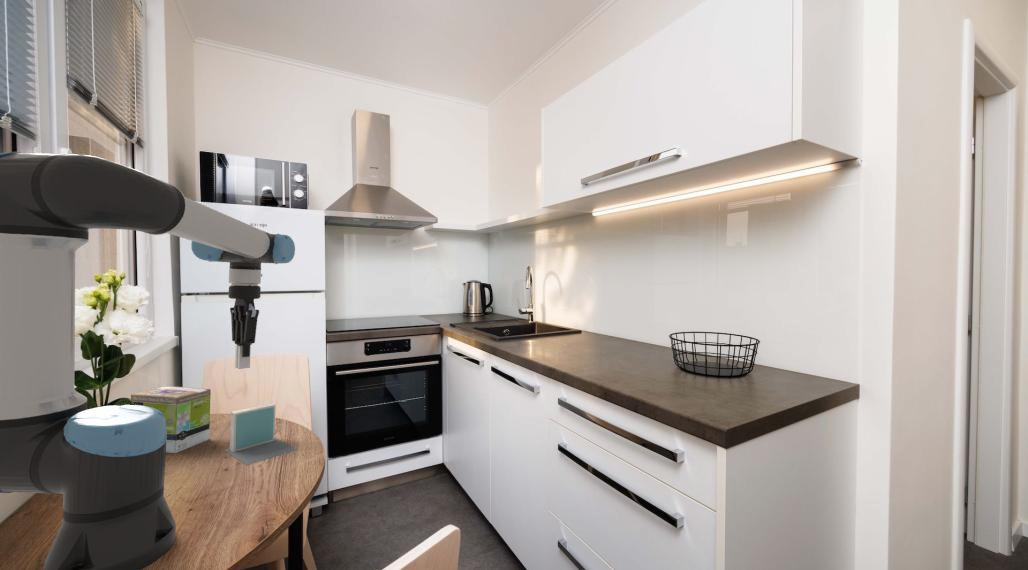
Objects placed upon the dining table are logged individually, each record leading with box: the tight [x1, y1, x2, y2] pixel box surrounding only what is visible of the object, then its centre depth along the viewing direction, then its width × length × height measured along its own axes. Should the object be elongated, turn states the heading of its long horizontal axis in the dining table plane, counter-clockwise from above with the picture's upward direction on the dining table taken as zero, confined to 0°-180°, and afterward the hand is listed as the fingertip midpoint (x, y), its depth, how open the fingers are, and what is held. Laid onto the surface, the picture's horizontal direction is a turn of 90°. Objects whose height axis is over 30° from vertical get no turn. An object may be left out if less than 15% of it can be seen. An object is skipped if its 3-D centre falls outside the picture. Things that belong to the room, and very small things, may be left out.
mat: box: [223, 437, 298, 466], centre depth 105 cm, size 12×14×1 cm
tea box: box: [130, 385, 212, 454], centre depth 108 cm, size 15×10×15 cm
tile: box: [229, 402, 276, 452], centre depth 108 cm, size 10×3×10 cm, turn 145°
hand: (242, 367), depth 113 cm, fingers closed
